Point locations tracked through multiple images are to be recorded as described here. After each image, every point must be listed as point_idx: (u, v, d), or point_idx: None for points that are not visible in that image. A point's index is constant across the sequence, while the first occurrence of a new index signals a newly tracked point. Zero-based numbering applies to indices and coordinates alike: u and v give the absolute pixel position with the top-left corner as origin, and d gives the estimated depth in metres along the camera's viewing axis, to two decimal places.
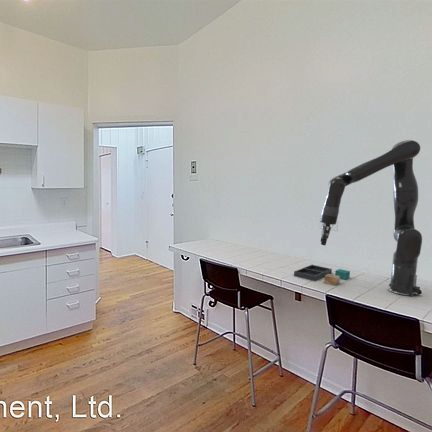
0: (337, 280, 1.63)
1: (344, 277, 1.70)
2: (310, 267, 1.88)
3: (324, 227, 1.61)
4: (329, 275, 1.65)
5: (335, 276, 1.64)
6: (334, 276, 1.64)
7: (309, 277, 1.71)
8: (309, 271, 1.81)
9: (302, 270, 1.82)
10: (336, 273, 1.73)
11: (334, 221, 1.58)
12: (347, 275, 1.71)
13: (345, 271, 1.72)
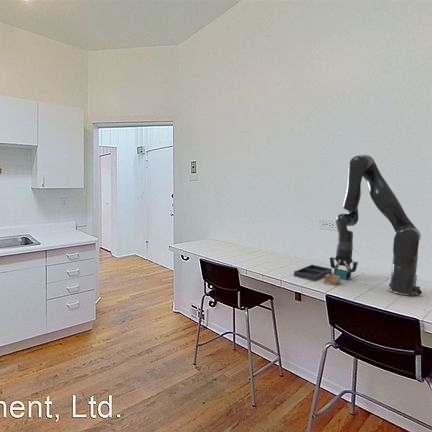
0: (337, 280, 1.63)
1: (344, 277, 1.70)
2: (310, 267, 1.88)
3: None
4: (329, 275, 1.65)
5: (335, 276, 1.64)
6: (334, 276, 1.64)
7: (309, 277, 1.71)
8: (309, 271, 1.81)
9: (302, 270, 1.82)
10: (336, 273, 1.73)
11: (337, 253, 1.72)
12: None
13: (345, 271, 1.72)
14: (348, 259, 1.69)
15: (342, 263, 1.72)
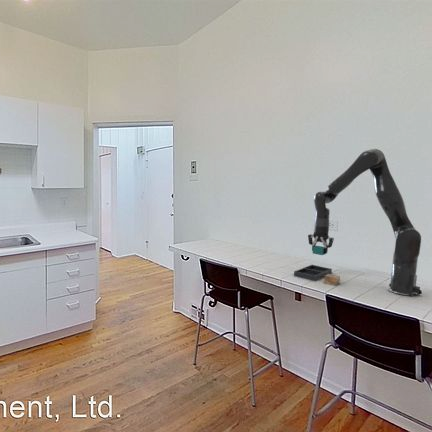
0: (337, 280, 1.63)
1: (321, 253, 1.77)
2: (310, 267, 1.88)
3: None
4: (329, 275, 1.65)
5: (335, 276, 1.64)
6: (334, 276, 1.64)
7: (309, 277, 1.71)
8: (309, 271, 1.81)
9: (302, 270, 1.82)
10: (313, 249, 1.81)
11: (314, 230, 1.79)
12: None
13: (322, 247, 1.79)
14: (324, 235, 1.77)
15: (319, 239, 1.79)
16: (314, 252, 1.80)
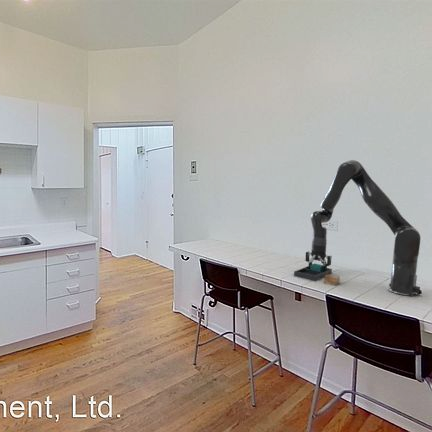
0: (337, 280, 1.63)
1: None
2: None
3: None
4: (329, 275, 1.65)
5: (335, 276, 1.64)
6: (334, 276, 1.64)
7: (309, 277, 1.71)
8: (309, 271, 1.81)
9: (302, 270, 1.82)
10: (311, 267, 1.83)
11: (312, 248, 1.81)
12: (321, 269, 1.80)
13: (319, 265, 1.81)
14: (322, 254, 1.79)
15: (317, 258, 1.81)
16: None
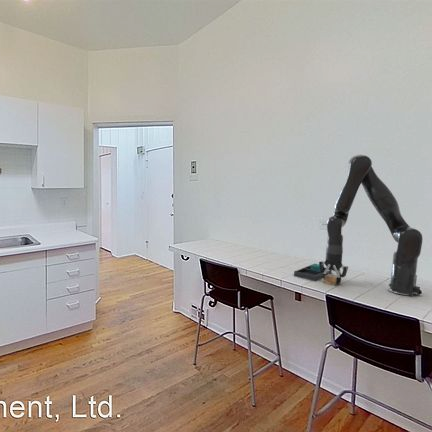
0: None
1: None
2: None
3: None
4: (329, 275, 1.65)
5: (335, 276, 1.64)
6: (334, 276, 1.64)
7: (309, 277, 1.71)
8: (309, 271, 1.81)
9: (302, 270, 1.82)
10: (311, 267, 1.83)
11: (326, 257, 1.64)
12: None
13: None
14: (337, 263, 1.61)
15: (332, 268, 1.63)
16: None
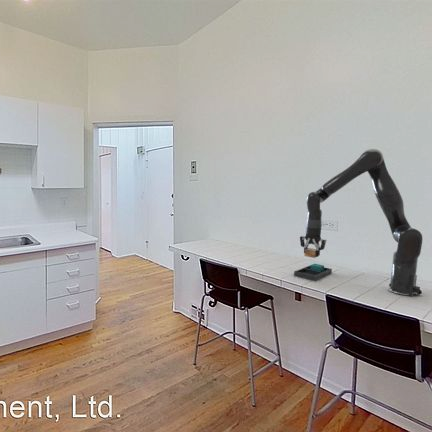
0: None
1: None
2: None
3: None
4: (309, 249, 1.74)
5: (314, 249, 1.72)
6: (313, 249, 1.72)
7: (309, 277, 1.71)
8: (309, 271, 1.81)
9: (302, 270, 1.82)
10: (311, 267, 1.83)
11: (306, 231, 1.72)
12: (321, 269, 1.80)
13: (319, 265, 1.81)
14: (316, 237, 1.70)
15: (311, 241, 1.72)
16: None
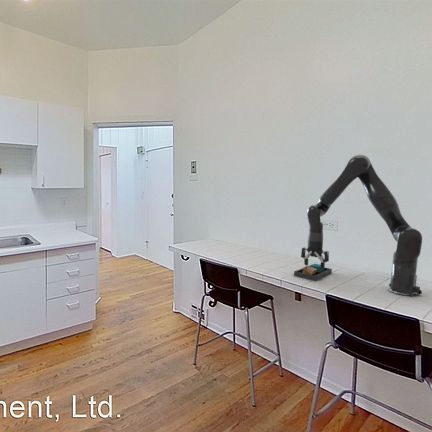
0: (314, 273, 1.74)
1: None
2: None
3: None
4: (307, 267, 1.76)
5: (313, 269, 1.74)
6: (312, 269, 1.74)
7: (309, 277, 1.71)
8: None
9: (302, 270, 1.82)
10: None
11: (308, 244, 1.74)
12: (321, 269, 1.80)
13: (319, 265, 1.81)
14: (318, 250, 1.71)
15: (313, 254, 1.73)
16: None
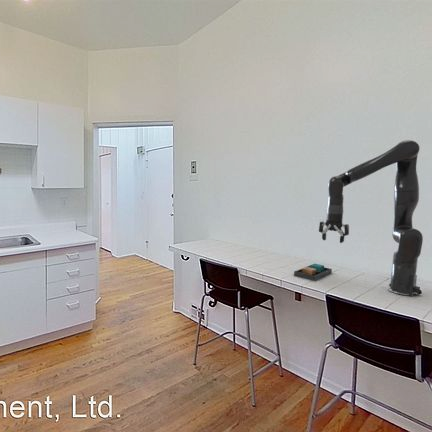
0: (313, 273, 1.74)
1: None
2: None
3: None
4: (306, 268, 1.77)
5: (311, 269, 1.75)
6: (310, 269, 1.75)
7: (309, 277, 1.71)
8: None
9: None
10: (311, 267, 1.83)
11: (327, 217, 1.66)
12: (321, 269, 1.80)
13: (319, 265, 1.81)
14: (338, 223, 1.64)
15: (332, 228, 1.66)
16: None
